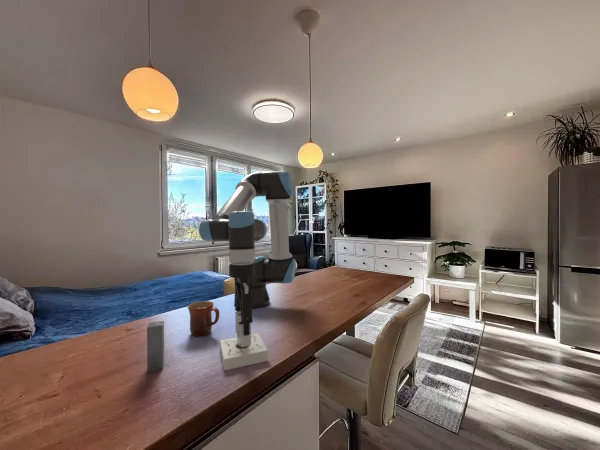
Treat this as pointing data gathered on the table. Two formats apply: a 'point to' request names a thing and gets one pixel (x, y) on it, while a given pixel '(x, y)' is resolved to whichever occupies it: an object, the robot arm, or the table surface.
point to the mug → (202, 317)
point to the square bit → (155, 346)
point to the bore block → (242, 353)
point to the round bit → (239, 332)
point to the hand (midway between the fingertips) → (242, 338)
